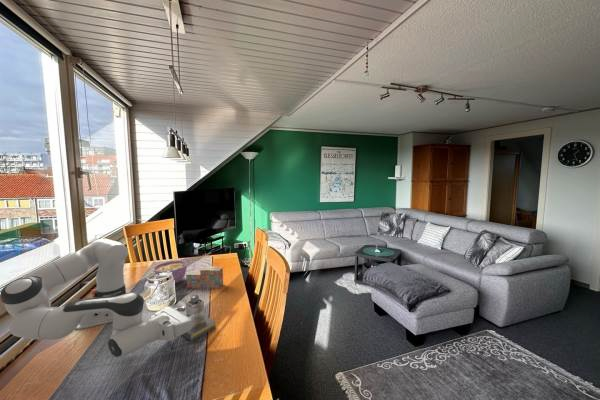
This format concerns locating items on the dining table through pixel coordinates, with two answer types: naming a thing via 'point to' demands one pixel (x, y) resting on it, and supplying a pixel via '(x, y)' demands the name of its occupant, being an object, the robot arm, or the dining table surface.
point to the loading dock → (200, 329)
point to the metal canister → (194, 299)
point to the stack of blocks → (205, 278)
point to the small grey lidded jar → (198, 309)
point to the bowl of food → (172, 269)
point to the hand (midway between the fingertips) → (191, 311)
